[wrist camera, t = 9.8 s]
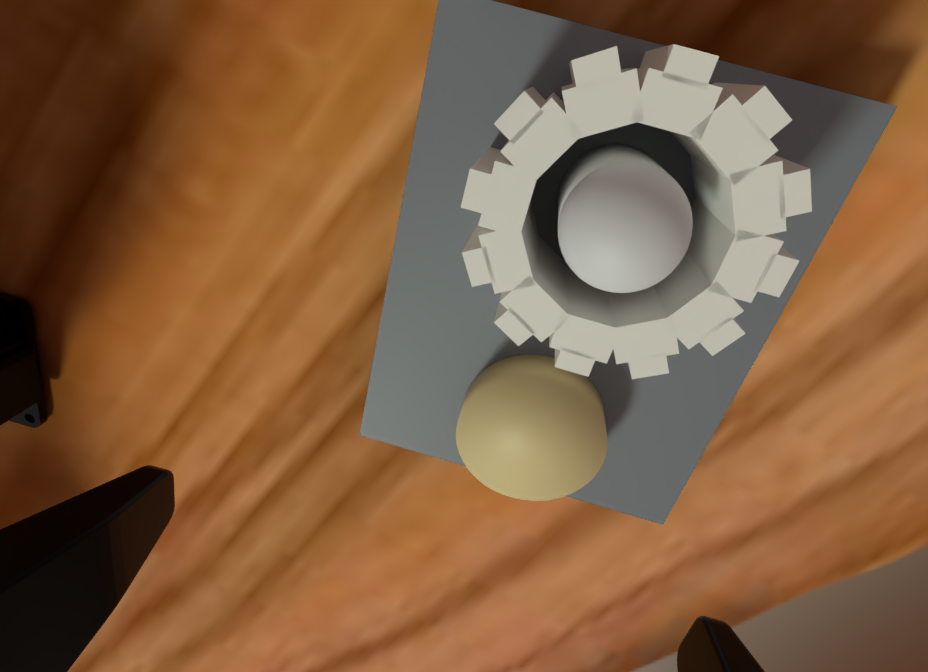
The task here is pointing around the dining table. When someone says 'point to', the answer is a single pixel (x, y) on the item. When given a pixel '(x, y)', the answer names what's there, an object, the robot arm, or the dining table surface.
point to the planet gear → (713, 212)
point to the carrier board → (466, 314)
